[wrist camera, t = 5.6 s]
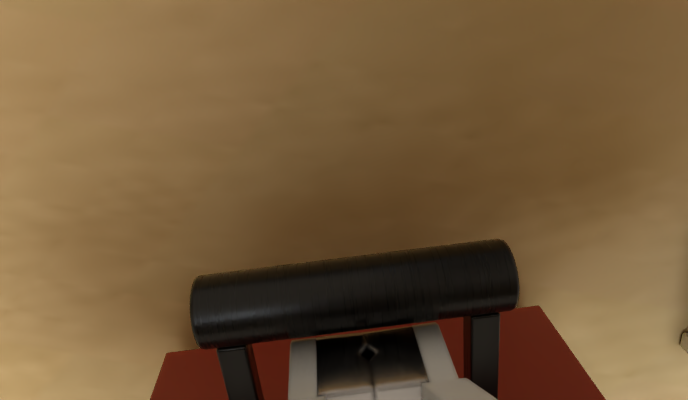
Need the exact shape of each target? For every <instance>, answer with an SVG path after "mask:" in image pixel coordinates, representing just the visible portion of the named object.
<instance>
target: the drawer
mask: <svg viewBox="0 0 688 400" xmlns="http://www.w3.org/2000/svg"><path fill="white" fill-rule="evenodd" d="M518 300H519V278H518V271H517V267H516V263H515V260H514V257H513V254H512V252H511V250H510V248H509V246H508V245H507V243H506V242H505V241H504V240H501V239H491V240H483V241H475V242H467V243H459V244H451V245H443V246H435V247H426V248H418V249H410V250H402V251H394V252H386V253H378V254H370V255H362V256H354V257H346V258H338V259H330V260H322V261H314V262H306V263H297V264H289V265H281V266H273V267H265V268H257V269H249V270H241V271H233V272H225V273H217V274H209V275H201V276H198V277H197V278H195V280H194V282H193V284H192V289H191V294H190V319H191V326H192V331H193V334H194V337H195V340H196V343H197V345H198V346H199V347H200V348H201V349H193V350H185V351H178V352H170V353H167V354H166V356H165V359H164V362H163V365H162V367H161V370H160V373H159V376H158V379H157V381H156V384H155V387H154V390H153V392H152V395H151V398H150V400H288V385H289V360H290V344H291V341H292V340H297V339H306V338H317V337H322V336H331V335H341V334H351V333H361V332H371V331H378V330H386V329H393V328H401V327H409V326H411V327H412V325H418V324H425V323H432V322H436V323H437V324H438V325H439V328H440V330H441V333H442V336H443V338H444V341H445V343H446V346H447V349H448V351H449V354H450V357H451V359H452V362H453V365H454V367H455V370H456V372H457V375H458V378H467V379H469V380H470V381H472V382H473V383H475V384H476V385H477V386H479V387H480V388H482V389H483V390H485V391H486V392H488V393H489V394H490V395H492V396H493V397H495V398H496V399H498V400H606V399H605V398H604V397H603V395H602V394H601V392H600V391H599V390H598V388H597V387H596V385H595V384H594V382H593V381H592V380H591V378H590V377H589V375H588V374H587V373H586V371H585V370H584V368H583V367H582V366H581V364H580V363H579V361H578V360H577V358H576V357H575V356H574V354H573V353H572V351H571V350H570V349H569V347H568V346H567V344H566V343H565V341H564V340H563V339H562V337H561V336H560V334H559V333H558V332H557V330H556V329H555V327H554V326H553V325H552V323H551V322H550V320H549V319H548V317H547V316H546V315H545V313H544V312H543V310H542V309H541V308H540V306H530V307H523V308H516V306H517V304H518Z"/></svg>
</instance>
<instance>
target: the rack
mask: <svg viewBox="0 0 688 400" xmlns="http://www.w3.org/2000/svg"><path fill="white" fill-rule="evenodd" d="M680 345H681V347H682V348H683V349H684V350H685V351H686V352H687V353H688V332H686V333H683V334H682V339H681V343H680Z"/></svg>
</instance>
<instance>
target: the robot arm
mask: <svg viewBox="0 0 688 400" xmlns="http://www.w3.org/2000/svg"><path fill="white" fill-rule="evenodd" d="M288 400H498V399H496V398H495V397H493V396H492V395H490V394H489V393H488V392H486V391H485V390H483V389H482V388H480V387H479V386H477V385H476V384H475V383H473V382H472V381H470V380H469V379H467V378H458V375H457V372H456V370H455V367H454V365H453V362H452V359H451V357H450V354H449V351H448V349H447V346H446V343H445V341H444V338H443V336H442V333H441V330H440V328H439V325H438V324H437V323H436V322H432V323H425V324H418V325H412V327H411V326H409V327H401V328H393V329H386V330H378V331H371V332H361V333H351V334H341V335H331V336H322V337H317V338H306V339H297V340H292V341H291V344H290V360H289V385H288Z"/></svg>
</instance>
